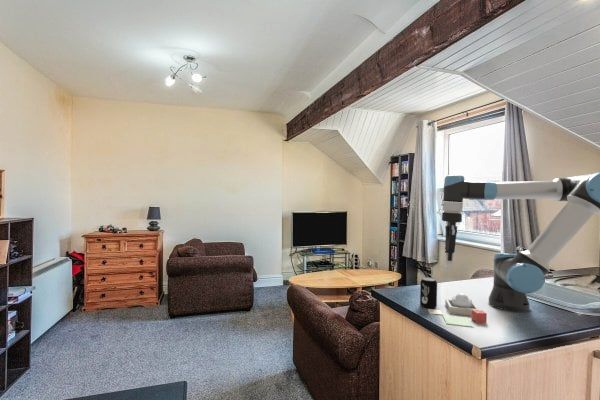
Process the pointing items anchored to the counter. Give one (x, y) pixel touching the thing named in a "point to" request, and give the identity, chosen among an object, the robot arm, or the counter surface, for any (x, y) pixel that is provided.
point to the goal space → (457, 321)
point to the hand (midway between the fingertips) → (448, 268)
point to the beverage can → (428, 293)
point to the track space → (435, 312)
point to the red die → (479, 316)
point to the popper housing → (459, 308)
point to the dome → (461, 301)
